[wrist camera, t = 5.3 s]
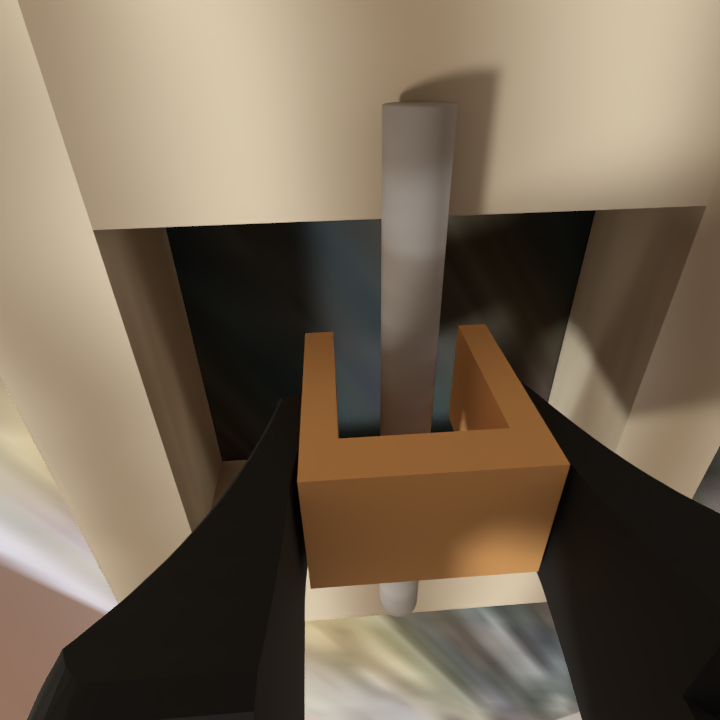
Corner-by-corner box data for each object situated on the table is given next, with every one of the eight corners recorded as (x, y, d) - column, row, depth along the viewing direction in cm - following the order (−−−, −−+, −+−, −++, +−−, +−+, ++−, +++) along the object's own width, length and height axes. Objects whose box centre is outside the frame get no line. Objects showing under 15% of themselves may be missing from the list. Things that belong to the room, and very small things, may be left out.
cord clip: (485, 324, 12) (570, 464, 8) (472, 415, 14) (538, 571, 10) (305, 333, 12) (297, 482, 8) (313, 424, 14) (310, 589, 10)
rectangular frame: (781, -27, 11) (1087, -76, 7) (589, 506, 21) (661, 627, 16) (-41, -13, 10) (-315, -61, 6) (166, 535, 20) (122, 672, 16)
